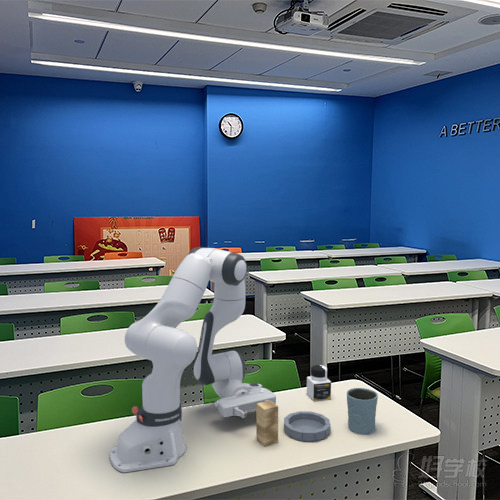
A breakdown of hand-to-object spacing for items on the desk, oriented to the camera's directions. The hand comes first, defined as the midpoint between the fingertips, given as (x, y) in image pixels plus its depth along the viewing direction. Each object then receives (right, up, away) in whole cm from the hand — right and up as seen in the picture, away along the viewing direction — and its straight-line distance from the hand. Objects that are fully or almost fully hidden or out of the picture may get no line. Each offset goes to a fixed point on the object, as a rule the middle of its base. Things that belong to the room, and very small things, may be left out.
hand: (257, 412), depth 159 cm
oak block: (+3, -8, -4) cm, 9 cm away
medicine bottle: (+24, -4, +29) cm, 38 cm away
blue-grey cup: (+34, -7, +4) cm, 35 cm away
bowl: (+16, -7, +2) cm, 18 cm away
